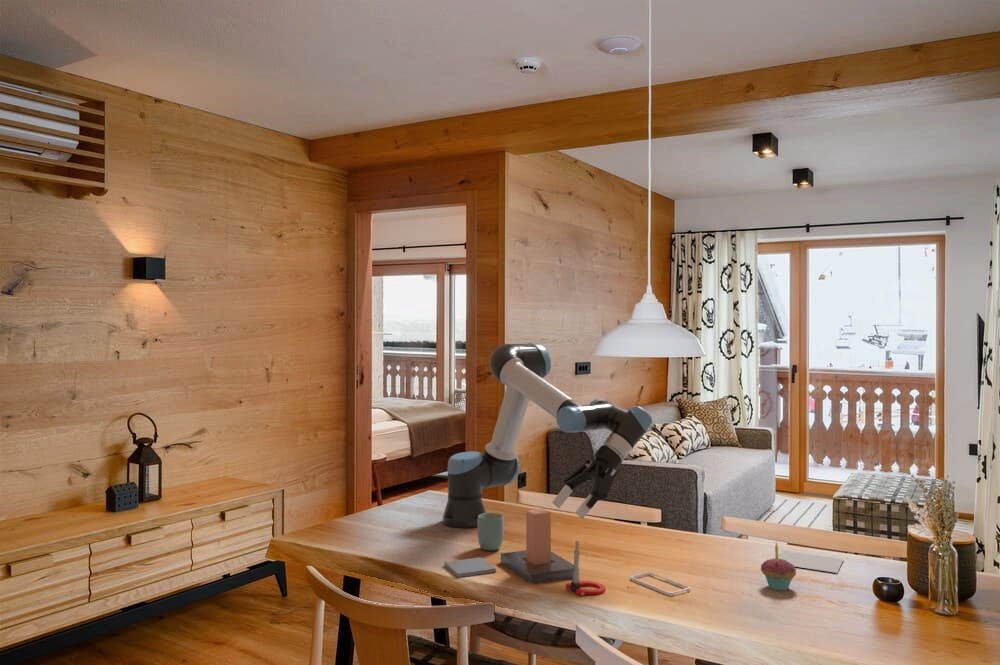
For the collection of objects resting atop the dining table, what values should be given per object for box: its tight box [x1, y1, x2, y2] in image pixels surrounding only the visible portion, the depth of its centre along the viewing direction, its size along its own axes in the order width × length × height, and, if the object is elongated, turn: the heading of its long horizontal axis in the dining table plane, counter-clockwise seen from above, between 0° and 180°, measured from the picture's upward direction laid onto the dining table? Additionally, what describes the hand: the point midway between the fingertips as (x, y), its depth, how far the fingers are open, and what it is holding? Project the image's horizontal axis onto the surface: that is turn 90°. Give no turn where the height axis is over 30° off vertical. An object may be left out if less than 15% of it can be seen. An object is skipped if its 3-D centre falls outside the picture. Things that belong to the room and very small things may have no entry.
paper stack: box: [778, 550, 845, 574], centre depth 216 cm, size 23×25×1 cm
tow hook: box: [564, 540, 606, 597], centre depth 192 cm, size 8×13×9 cm
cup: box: [476, 512, 505, 552], centre depth 228 cm, size 8×8×10 cm
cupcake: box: [760, 542, 797, 591], centre depth 194 cm, size 9×8×12 cm
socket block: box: [500, 549, 580, 584], centre depth 209 cm, size 20×14×2 cm
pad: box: [443, 556, 497, 578], centre depth 209 cm, size 11×11×1 cm
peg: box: [525, 508, 552, 565], centre depth 209 cm, size 5×5×16 cm
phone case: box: [629, 571, 691, 597], centre depth 196 cm, size 7×1×15 cm
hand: (566, 510), depth 211 cm, fingers open, 13 cm apart
